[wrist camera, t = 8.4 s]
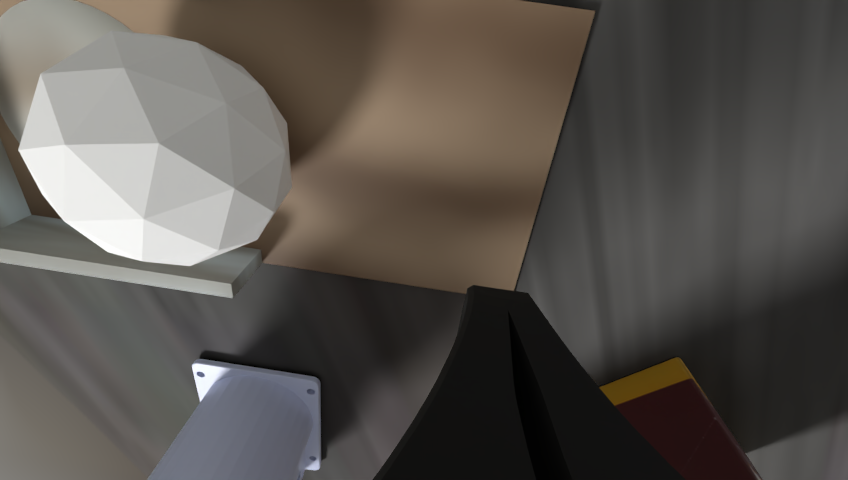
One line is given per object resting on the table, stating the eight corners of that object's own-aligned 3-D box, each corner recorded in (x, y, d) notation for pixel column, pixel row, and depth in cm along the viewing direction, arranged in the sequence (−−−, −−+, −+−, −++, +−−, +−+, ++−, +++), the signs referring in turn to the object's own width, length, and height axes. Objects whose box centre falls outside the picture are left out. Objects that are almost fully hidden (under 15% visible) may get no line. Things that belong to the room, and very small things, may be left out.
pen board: (510, 297, 21) (517, 342, 18) (27, 223, 21) (-41, 256, 18) (593, 11, 14) (625, 9, 11) (-102, -87, 15) (-239, -112, 12)
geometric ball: (287, 152, 21) (256, 304, 17) (95, 92, 17) (12, 270, 14) (334, 45, 14) (300, 250, 11) (50, -84, 11) (-118, 163, 8)
